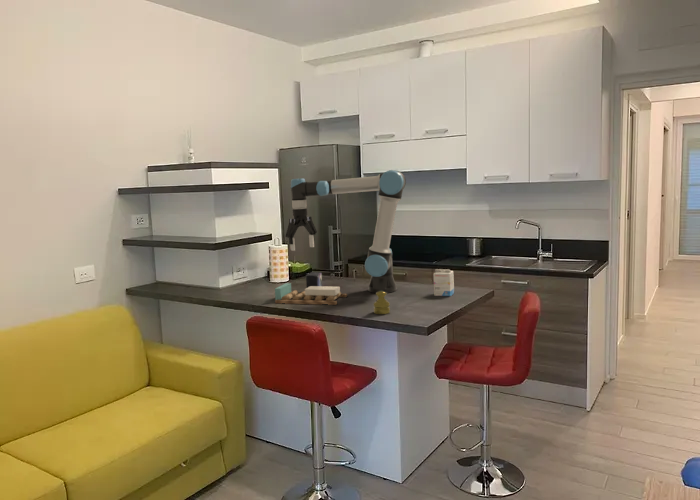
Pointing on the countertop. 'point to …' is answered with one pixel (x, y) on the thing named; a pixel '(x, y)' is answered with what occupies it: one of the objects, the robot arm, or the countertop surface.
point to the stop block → (282, 290)
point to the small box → (314, 279)
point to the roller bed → (308, 298)
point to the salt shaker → (381, 304)
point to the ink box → (443, 282)
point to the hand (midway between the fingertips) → (302, 248)
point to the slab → (322, 290)
